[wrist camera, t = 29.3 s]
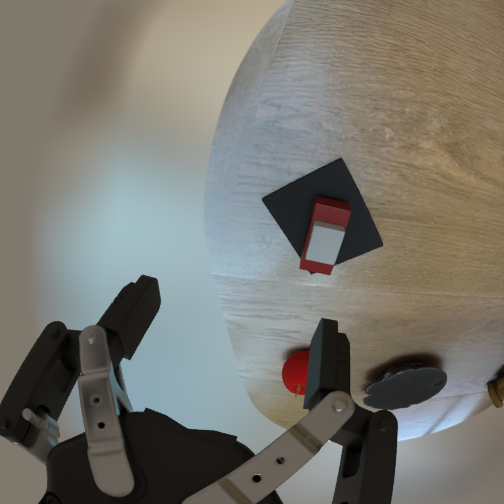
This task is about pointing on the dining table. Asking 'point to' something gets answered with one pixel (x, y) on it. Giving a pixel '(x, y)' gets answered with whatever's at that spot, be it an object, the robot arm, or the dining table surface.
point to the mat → (328, 186)
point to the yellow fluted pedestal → (497, 392)
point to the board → (405, 385)
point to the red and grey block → (324, 235)
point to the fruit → (296, 372)
